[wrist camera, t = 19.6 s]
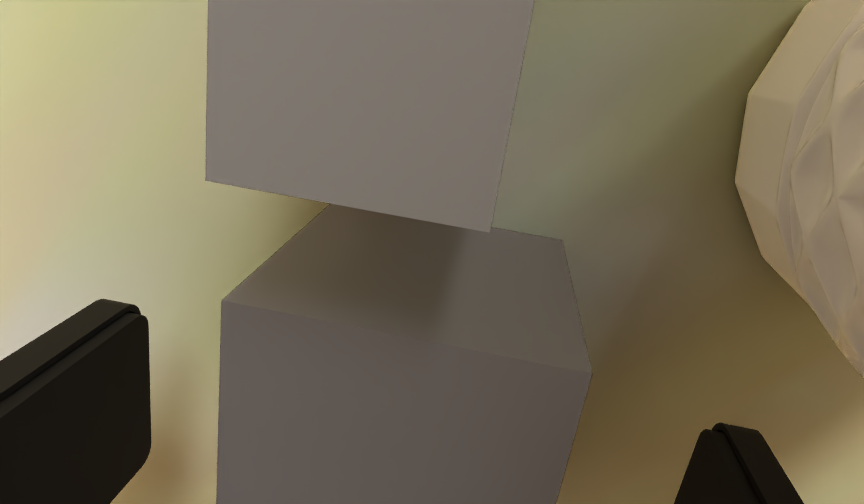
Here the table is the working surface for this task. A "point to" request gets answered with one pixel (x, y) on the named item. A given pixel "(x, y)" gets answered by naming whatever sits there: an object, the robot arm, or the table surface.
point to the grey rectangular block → (400, 367)
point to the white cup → (812, 166)
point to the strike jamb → (366, 101)
